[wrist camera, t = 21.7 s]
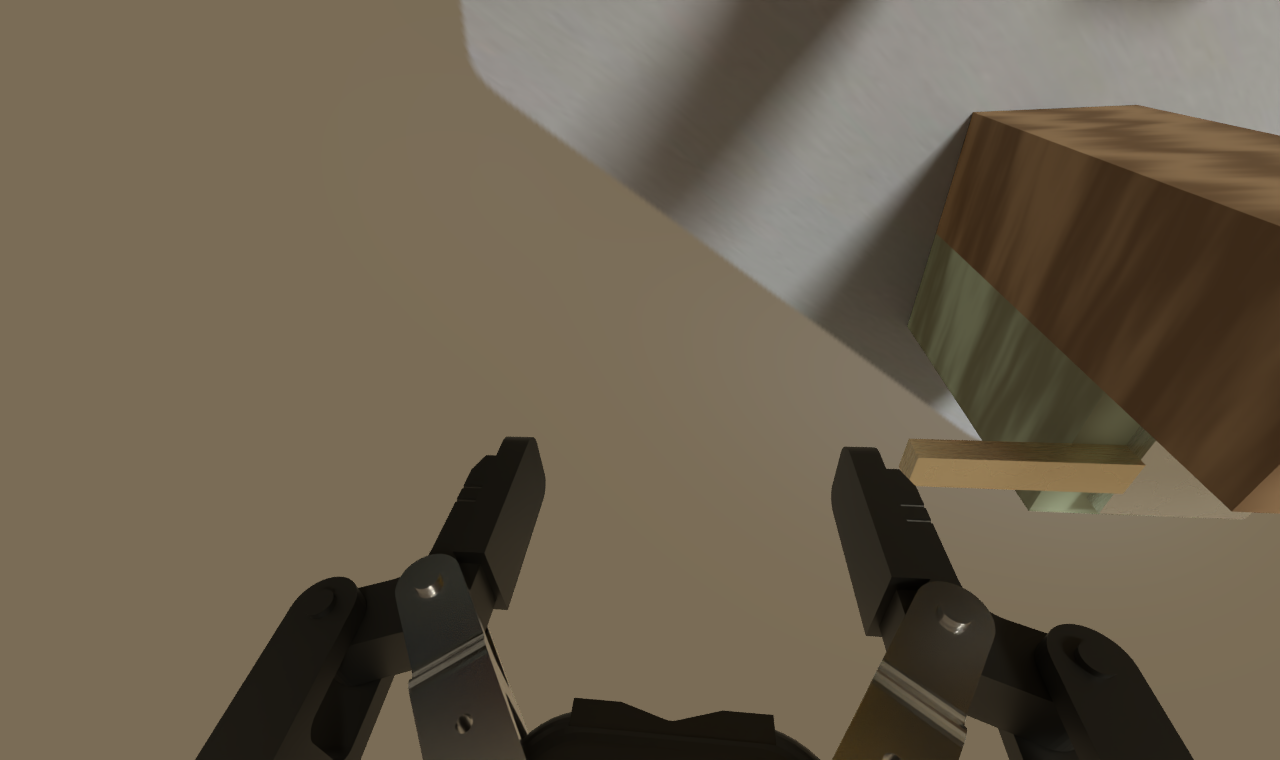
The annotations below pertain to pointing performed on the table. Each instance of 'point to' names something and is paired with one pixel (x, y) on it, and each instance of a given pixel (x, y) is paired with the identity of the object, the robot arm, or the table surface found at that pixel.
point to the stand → (1114, 291)
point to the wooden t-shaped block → (1070, 473)
